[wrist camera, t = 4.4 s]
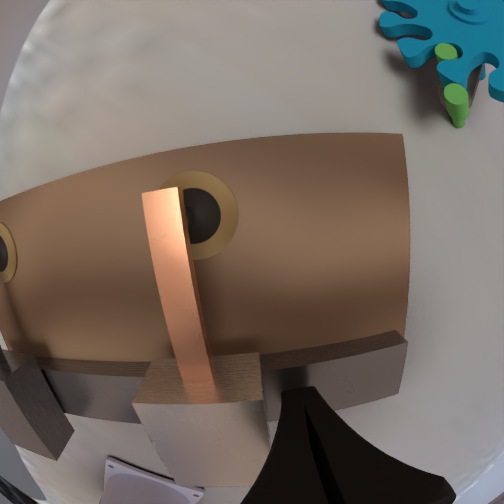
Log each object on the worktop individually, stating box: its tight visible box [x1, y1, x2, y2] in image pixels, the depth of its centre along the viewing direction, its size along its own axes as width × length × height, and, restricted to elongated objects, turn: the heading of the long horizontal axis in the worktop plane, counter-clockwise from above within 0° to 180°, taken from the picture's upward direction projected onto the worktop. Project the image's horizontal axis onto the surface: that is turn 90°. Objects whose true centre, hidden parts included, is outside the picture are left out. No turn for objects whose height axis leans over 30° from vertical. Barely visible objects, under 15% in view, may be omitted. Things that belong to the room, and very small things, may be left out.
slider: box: [132, 187, 271, 487], centre depth 9 cm, size 11×4×4 cm, turn 7°
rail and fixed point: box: [0, 330, 408, 461], centre depth 9 cm, size 11×21×4 cm, turn 97°
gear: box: [379, 0, 504, 128], centre depth 8 cm, size 11×6×10 cm
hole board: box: [0, 133, 410, 362], centre depth 12 cm, size 12×22×2 cm, turn 97°
